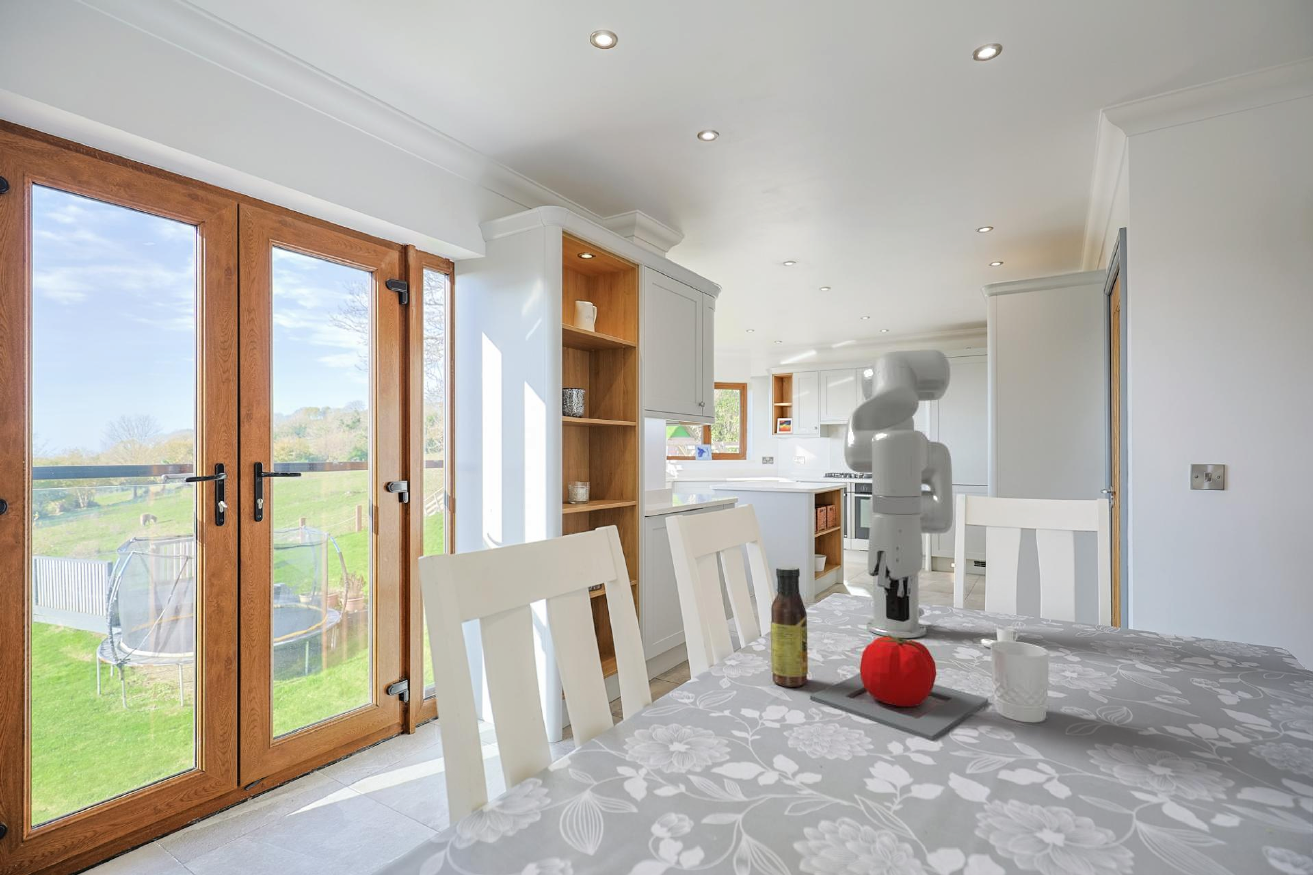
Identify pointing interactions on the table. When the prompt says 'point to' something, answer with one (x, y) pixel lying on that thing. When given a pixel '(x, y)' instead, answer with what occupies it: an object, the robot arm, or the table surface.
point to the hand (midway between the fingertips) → (897, 619)
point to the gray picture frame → (925, 726)
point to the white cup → (1020, 680)
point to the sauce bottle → (789, 631)
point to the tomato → (897, 671)
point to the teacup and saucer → (1001, 636)
